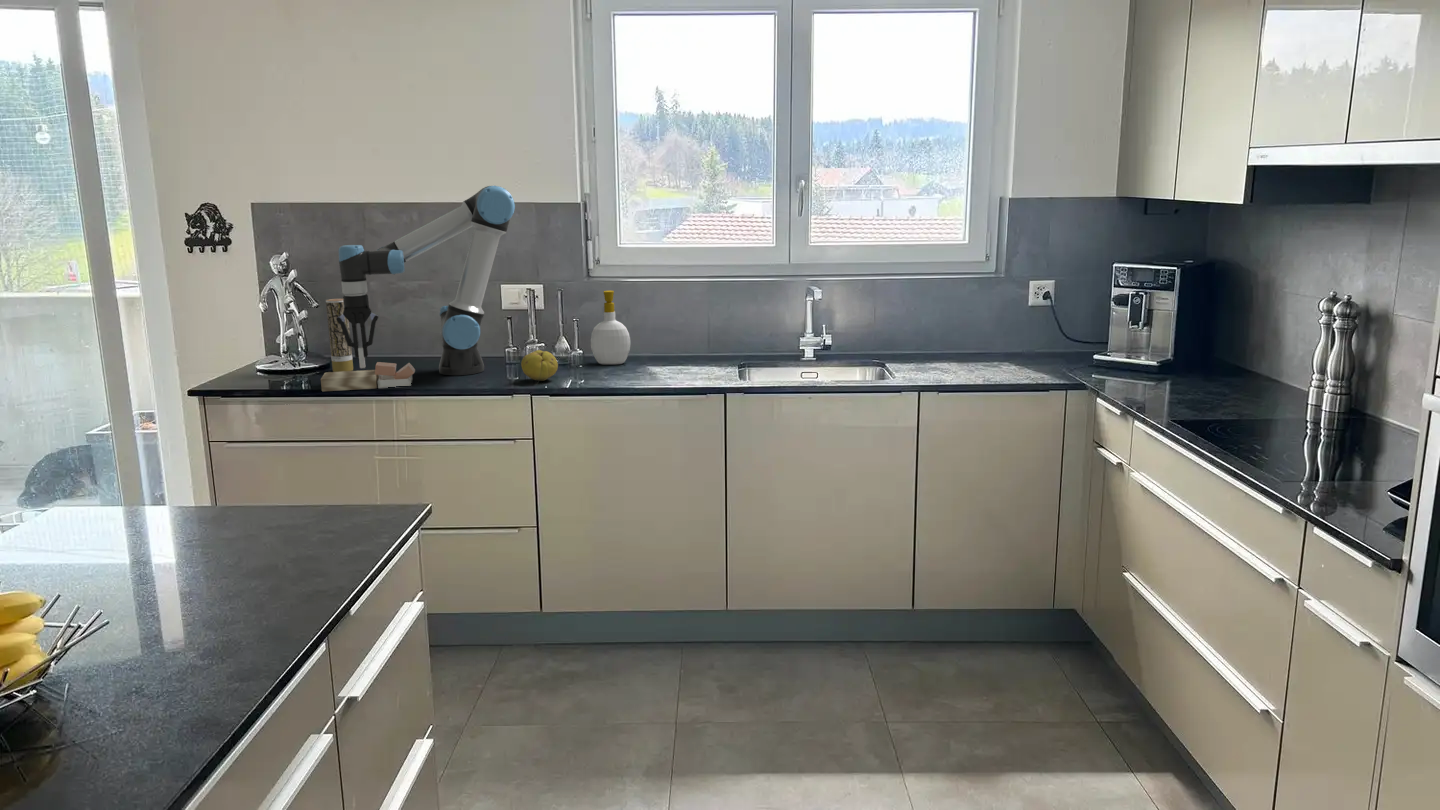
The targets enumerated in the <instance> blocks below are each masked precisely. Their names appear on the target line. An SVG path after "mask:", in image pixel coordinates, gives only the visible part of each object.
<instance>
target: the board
mask: <svg viewBox="0 0 1440 810" xmlns="http://www.w3.org/2000/svg"><path fill="white" fill-rule="evenodd" d="M379 376H380V375H376V374H375V369H366V370H364V369H363V370H353V371H343V372H333V371H328V372H324V373H323V375H322V376H321V378H320V385H321V391H322V392H333V391H334V392H335V391H336V392H337V391H350V390H351V391H352V390H371V389H377V388H378V378H379Z"/></svg>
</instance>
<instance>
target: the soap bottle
mask: <svg viewBox="0 0 1440 810" xmlns="http://www.w3.org/2000/svg"><path fill="white" fill-rule="evenodd" d="M614 294H615V291H614V290H604V291H603V296H604V301H605V302H604V303H603V309H604V311H603V320H602V321H600V322H599V323H597V324H596V325H595V326H594V327H593V330H592V331H591V334H590V342H589V343H590V349H591V352H592V354H593V356H594V358H595V360H596V362H597V363H598V364H599V365H603V366H604V365H608V366H609V365H610V366H611V365H622V364H624V363H625V362H626V360H627V358H628V356H629V353H630V350H631V336H630V332H629V331H628V329H627V326H625V325H624V324H623V323H622V322H620V321H618V320H617V319H616V311H615V302H613V301H614Z"/></svg>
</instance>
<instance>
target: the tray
mask: <svg viewBox="0 0 1440 810" xmlns="http://www.w3.org/2000/svg"><path fill="white" fill-rule="evenodd" d="M411 383H412V384H413V374H412V375H411V376H410V377H408V378H407V379H395V378H394V376H388V375H379V378H378V386H377V388H378V389H389V388H388V387H395V388H397V387H396V386H411V387H412V384H411Z"/></svg>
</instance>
